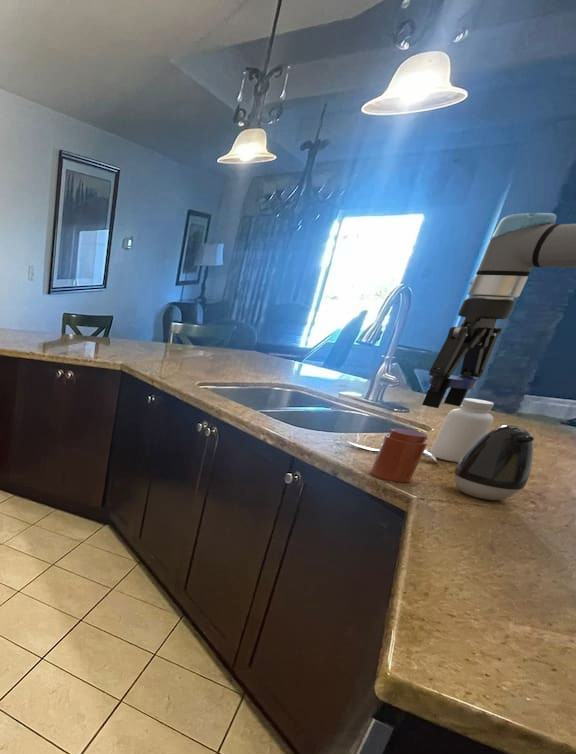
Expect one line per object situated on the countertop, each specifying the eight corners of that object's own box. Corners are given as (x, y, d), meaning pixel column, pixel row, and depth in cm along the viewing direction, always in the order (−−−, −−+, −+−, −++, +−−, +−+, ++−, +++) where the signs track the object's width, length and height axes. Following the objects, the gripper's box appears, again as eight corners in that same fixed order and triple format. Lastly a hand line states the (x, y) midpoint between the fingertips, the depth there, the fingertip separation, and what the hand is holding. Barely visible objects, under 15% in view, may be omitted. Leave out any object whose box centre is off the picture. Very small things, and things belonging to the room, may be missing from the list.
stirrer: (342, 431, 129) (344, 427, 132) (336, 443, 131) (338, 440, 134) (443, 455, 118) (442, 450, 121) (436, 468, 119) (435, 463, 122)
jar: (413, 478, 110) (433, 433, 106) (406, 485, 106) (427, 439, 102) (374, 468, 115) (392, 425, 111) (366, 474, 111) (384, 430, 107)
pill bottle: (476, 466, 119) (507, 406, 113) (432, 459, 123) (460, 400, 117) (466, 457, 125) (495, 400, 119) (425, 450, 129) (451, 395, 123)
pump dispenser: (462, 500, 100) (499, 428, 93) (436, 481, 108) (468, 415, 102) (528, 510, 96) (571, 436, 90) (495, 490, 105) (532, 422, 99)
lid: (419, 382, 111) (423, 374, 110) (440, 381, 113) (443, 373, 112) (461, 389, 104) (464, 381, 104) (481, 388, 107) (485, 380, 106)
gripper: (495, 297, 108) (448, 399, 117) (438, 295, 101) (393, 403, 111) (542, 300, 101) (488, 407, 110) (485, 298, 95) (433, 412, 104)
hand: (441, 405), depth 110 cm, fingers closed on lid, 7 cm apart
